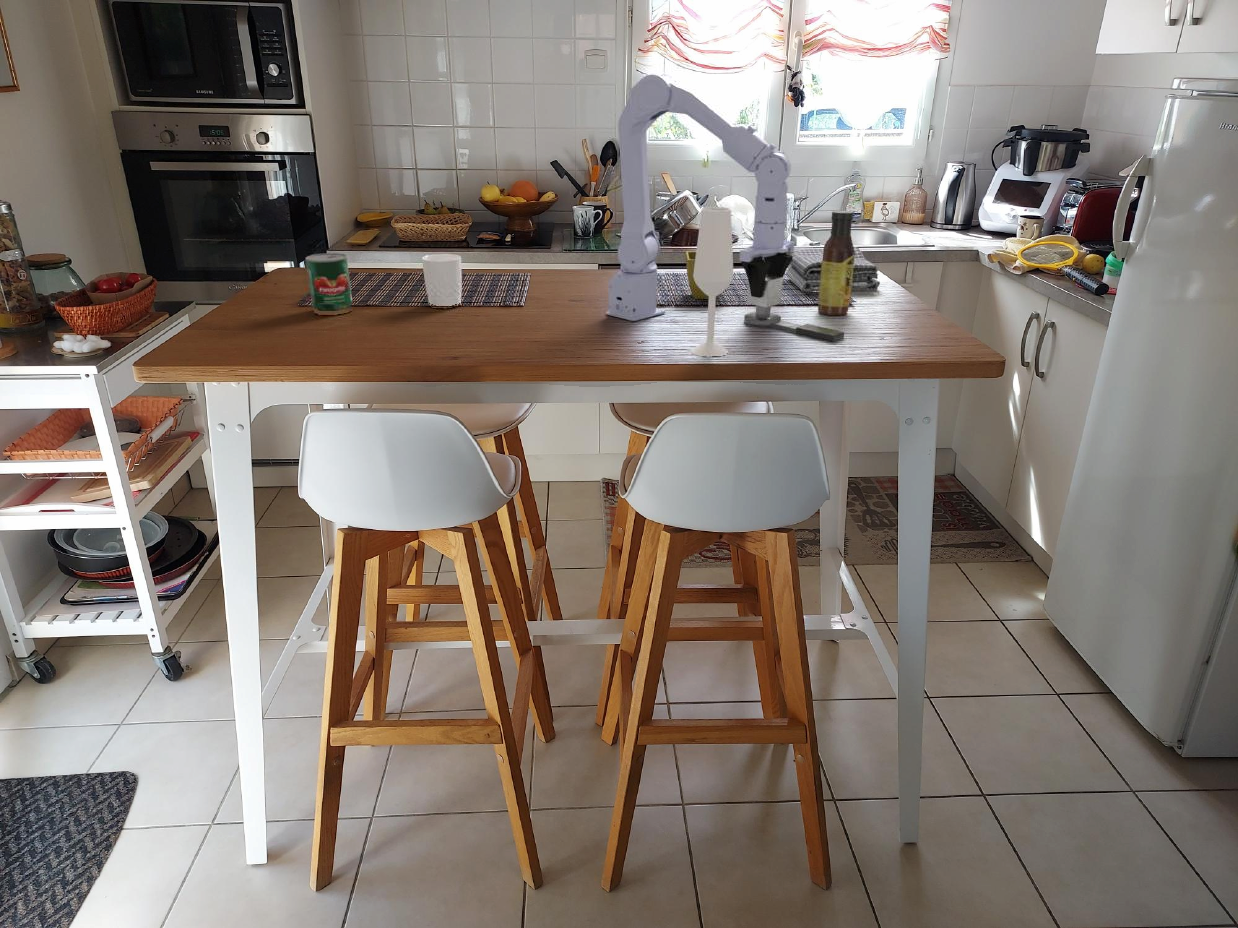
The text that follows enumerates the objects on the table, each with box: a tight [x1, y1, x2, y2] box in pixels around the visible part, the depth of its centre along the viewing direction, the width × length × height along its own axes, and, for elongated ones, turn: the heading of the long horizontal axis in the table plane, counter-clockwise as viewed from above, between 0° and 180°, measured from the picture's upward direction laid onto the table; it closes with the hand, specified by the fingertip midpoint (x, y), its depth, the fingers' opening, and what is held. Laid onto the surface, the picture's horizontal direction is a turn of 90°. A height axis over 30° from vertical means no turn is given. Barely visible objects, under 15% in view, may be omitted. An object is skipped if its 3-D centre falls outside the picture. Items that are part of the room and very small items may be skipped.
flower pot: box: [685, 251, 721, 300], centre depth 183 cm, size 9×9×9 cm
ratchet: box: [743, 305, 845, 344], centre depth 160 cm, size 20×7×4 cm, turn 45°
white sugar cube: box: [746, 275, 784, 307], centre depth 162 cm, size 5×5×5 cm
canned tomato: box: [305, 252, 353, 311], centre depth 171 cm, size 8×8×11 cm
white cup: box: [421, 253, 463, 306], centre depth 175 cm, size 8×8×10 cm
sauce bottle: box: [817, 210, 855, 316], centre depth 168 cm, size 7×6×20 cm
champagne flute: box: [690, 206, 734, 358], centre depth 142 cm, size 7×7×24 cm
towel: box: [785, 246, 881, 293], centre depth 194 cm, size 15×18×8 cm
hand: (764, 294), depth 162 cm, fingers closed on white sugar cube, 5 cm apart
